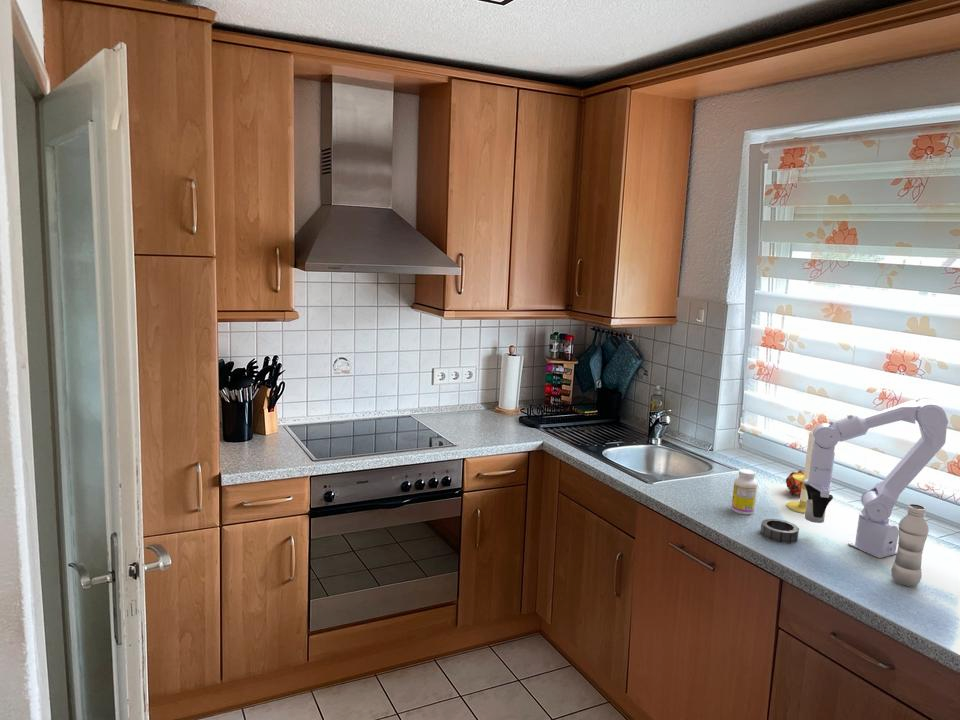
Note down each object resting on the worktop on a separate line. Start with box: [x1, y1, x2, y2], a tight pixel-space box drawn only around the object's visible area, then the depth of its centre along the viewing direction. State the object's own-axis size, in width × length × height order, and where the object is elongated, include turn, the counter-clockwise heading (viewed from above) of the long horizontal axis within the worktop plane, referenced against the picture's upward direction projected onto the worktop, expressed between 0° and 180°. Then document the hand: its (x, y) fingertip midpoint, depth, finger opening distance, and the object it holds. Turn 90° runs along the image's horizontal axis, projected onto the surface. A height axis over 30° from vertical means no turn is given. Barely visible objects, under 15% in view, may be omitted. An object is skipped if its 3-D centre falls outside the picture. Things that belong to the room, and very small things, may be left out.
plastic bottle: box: [891, 503, 930, 587], centre depth 176 cm, size 6×7×20 cm
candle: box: [786, 426, 816, 514], centre depth 223 cm, size 10×10×27 cm
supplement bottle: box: [731, 468, 758, 516], centre depth 219 cm, size 7×7×13 cm
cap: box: [804, 499, 827, 524], centre depth 201 cm, size 5×5×5 cm
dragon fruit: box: [785, 470, 804, 497], centre depth 237 cm, size 8×8×12 cm
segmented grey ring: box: [759, 518, 800, 544], centre depth 203 cm, size 10×10×3 cm
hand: (815, 513), depth 201 cm, fingers closed on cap, 5 cm apart
